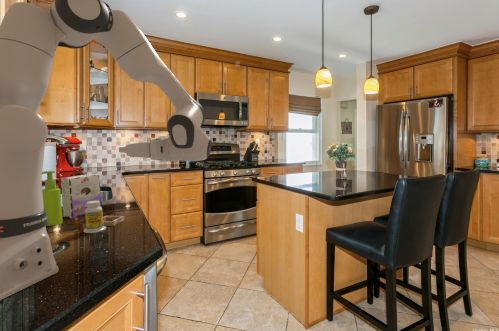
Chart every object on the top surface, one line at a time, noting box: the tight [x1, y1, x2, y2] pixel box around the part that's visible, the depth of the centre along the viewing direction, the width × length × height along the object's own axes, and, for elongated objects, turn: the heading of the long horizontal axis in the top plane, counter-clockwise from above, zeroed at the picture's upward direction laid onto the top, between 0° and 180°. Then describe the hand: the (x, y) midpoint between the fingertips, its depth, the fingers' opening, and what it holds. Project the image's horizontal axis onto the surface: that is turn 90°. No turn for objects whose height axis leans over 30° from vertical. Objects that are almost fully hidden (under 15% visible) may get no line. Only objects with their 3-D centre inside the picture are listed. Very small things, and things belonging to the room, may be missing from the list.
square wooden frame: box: [103, 215, 126, 227], centre depth 110 cm, size 8×8×2 cm
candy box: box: [60, 173, 102, 219], centre depth 123 cm, size 14×6×16 cm, turn 155°
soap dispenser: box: [42, 170, 64, 227], centre depth 108 cm, size 6×7×20 cm
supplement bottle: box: [84, 201, 104, 231], centre depth 101 cm, size 5×5×10 cm
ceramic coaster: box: [82, 226, 107, 234], centre depth 101 cm, size 7×7×1 cm
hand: (127, 149), depth 102 cm, fingers open, 8 cm apart
